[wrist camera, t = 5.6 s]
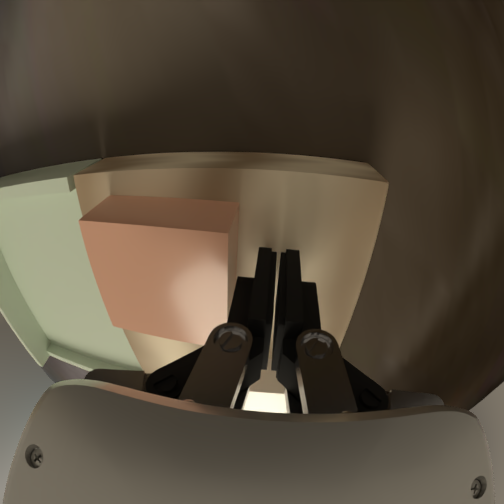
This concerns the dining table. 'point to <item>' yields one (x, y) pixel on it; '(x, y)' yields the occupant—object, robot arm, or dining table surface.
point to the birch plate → (262, 219)
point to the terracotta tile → (164, 263)
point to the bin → (54, 273)
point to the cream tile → (266, 393)
